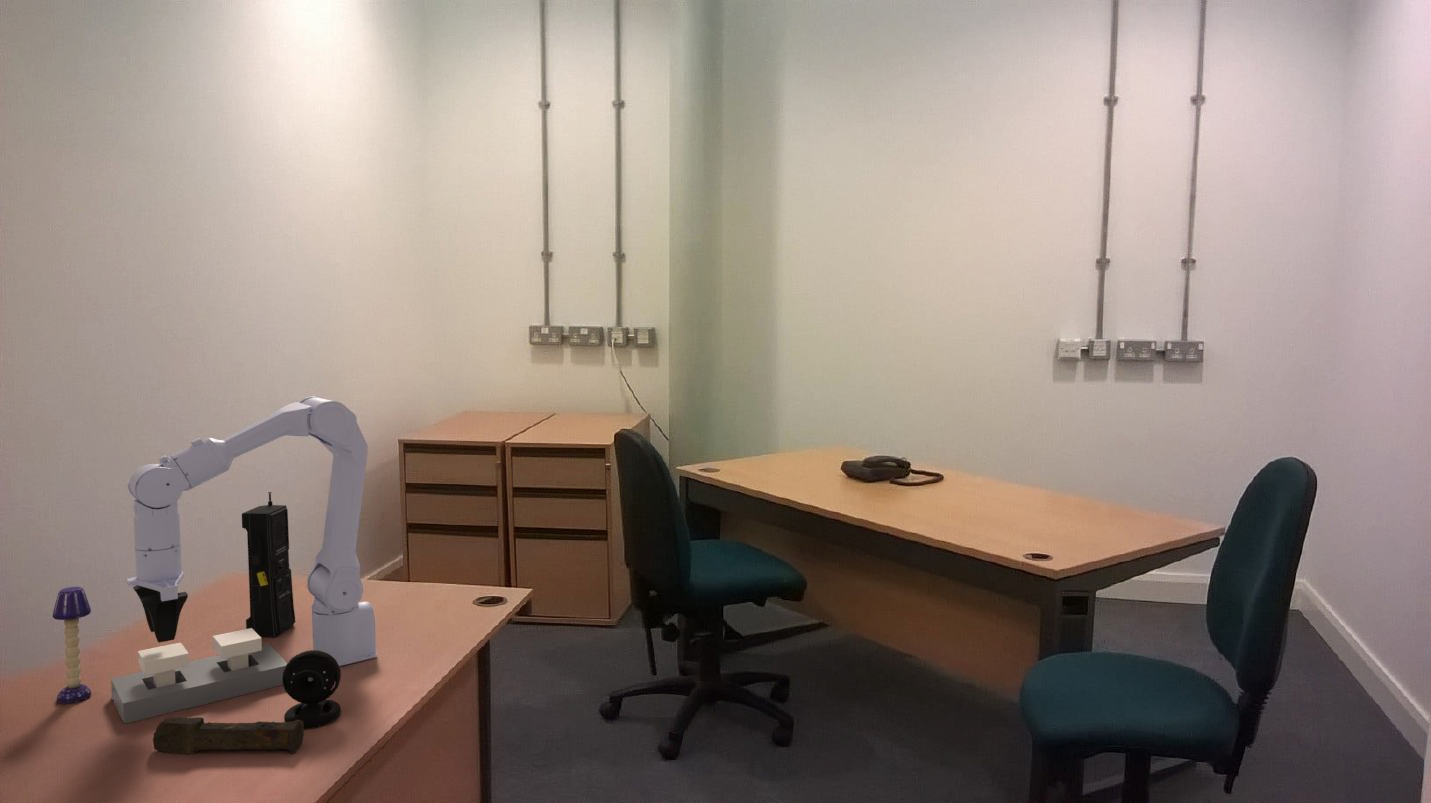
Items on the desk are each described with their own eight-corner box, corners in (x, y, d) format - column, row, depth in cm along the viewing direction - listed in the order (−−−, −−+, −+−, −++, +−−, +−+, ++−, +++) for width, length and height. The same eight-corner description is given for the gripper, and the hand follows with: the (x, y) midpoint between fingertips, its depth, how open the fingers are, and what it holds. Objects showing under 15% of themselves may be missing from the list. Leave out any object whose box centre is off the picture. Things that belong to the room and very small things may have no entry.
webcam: (276, 731, 125) (274, 662, 124) (291, 708, 132) (288, 642, 131) (336, 727, 127) (334, 659, 126) (346, 704, 134) (345, 639, 133)
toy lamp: (63, 692, 136) (56, 585, 134) (99, 688, 138) (93, 582, 136) (52, 705, 132) (45, 595, 130) (90, 701, 133) (83, 592, 132)
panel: (269, 661, 149) (269, 644, 149) (289, 683, 141) (289, 664, 141) (111, 697, 135) (110, 678, 135) (124, 723, 127) (122, 703, 126)
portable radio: (276, 640, 159) (271, 501, 156) (242, 639, 159) (237, 500, 156) (297, 624, 167) (293, 492, 164) (265, 623, 167) (260, 491, 164)
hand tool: (307, 742, 123) (306, 710, 122) (294, 757, 119) (293, 723, 118) (166, 742, 122) (164, 709, 122) (148, 757, 118) (147, 723, 118)
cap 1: (181, 672, 138) (180, 642, 138) (189, 684, 134) (188, 653, 134) (139, 681, 135) (137, 650, 134) (146, 694, 130) (144, 662, 130)
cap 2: (252, 656, 145) (251, 627, 144) (262, 667, 141) (261, 637, 140) (213, 665, 141) (212, 635, 141) (222, 676, 137) (221, 646, 137)
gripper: (117, 540, 135) (122, 627, 136) (134, 561, 124) (139, 656, 126) (171, 533, 140) (175, 617, 141) (192, 553, 129) (196, 644, 130)
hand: (162, 635), depth 134 cm, fingers open, 5 cm apart
